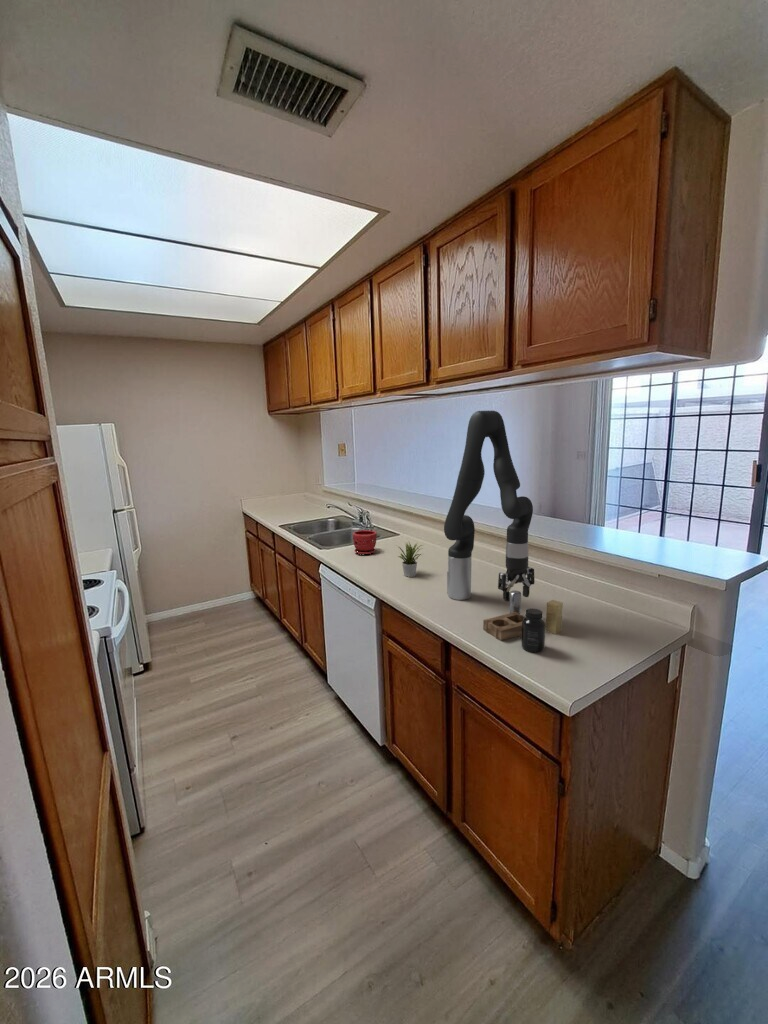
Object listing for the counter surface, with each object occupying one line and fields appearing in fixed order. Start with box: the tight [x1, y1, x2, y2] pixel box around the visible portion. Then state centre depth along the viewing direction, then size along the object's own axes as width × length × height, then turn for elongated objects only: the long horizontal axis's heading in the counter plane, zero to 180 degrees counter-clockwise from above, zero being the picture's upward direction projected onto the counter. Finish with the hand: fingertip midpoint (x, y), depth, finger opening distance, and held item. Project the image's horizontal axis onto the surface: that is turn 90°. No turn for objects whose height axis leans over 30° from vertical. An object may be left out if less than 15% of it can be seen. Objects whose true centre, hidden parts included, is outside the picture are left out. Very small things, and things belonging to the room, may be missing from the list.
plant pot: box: [352, 529, 378, 555], centre depth 238 cm, size 13×13×12 cm
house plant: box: [396, 540, 425, 578], centre depth 199 cm, size 14×14×16 cm
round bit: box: [509, 590, 522, 614], centre depth 151 cm, size 4×4×10 cm
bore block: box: [482, 612, 526, 642], centre depth 143 cm, size 9×14×4 cm, turn 115°
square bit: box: [545, 599, 564, 635], centre depth 142 cm, size 4×4×10 cm
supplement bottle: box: [520, 608, 546, 653], centre depth 131 cm, size 7×7×12 cm
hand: (516, 598), depth 151 cm, fingers open, 8 cm apart
